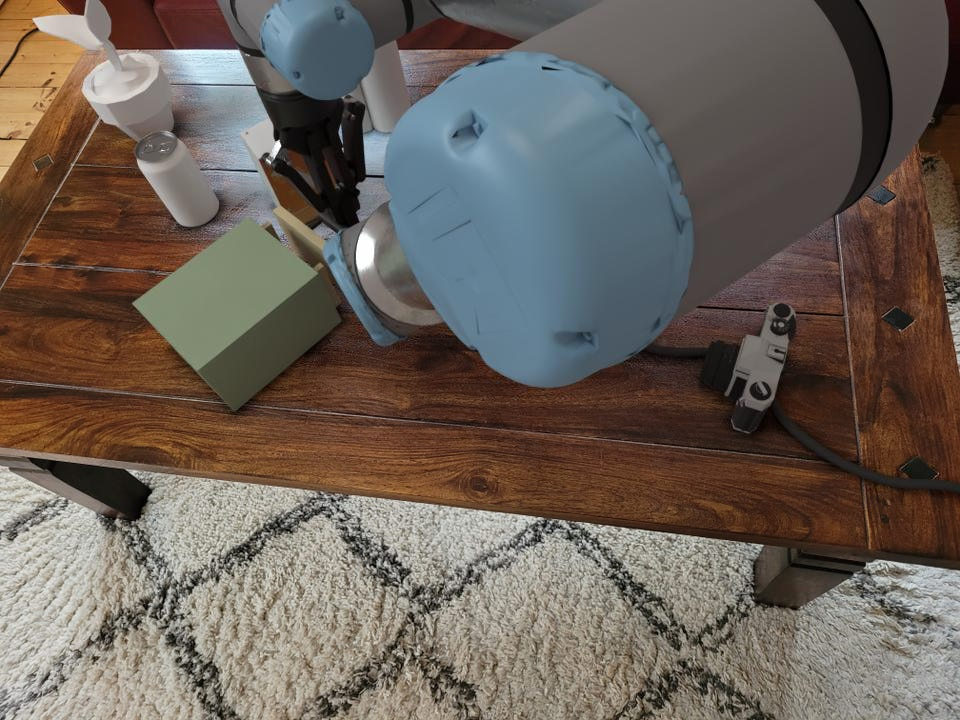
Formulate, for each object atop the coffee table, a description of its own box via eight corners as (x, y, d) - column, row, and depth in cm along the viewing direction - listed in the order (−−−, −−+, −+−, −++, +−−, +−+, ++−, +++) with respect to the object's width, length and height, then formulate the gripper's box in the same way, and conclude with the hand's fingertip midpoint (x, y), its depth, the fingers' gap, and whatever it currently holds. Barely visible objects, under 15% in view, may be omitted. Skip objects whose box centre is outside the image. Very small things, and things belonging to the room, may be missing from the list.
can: (216, 227, 95) (174, 161, 85) (171, 230, 96) (124, 166, 86) (224, 193, 99) (185, 126, 88) (181, 196, 99) (137, 130, 89)
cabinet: (277, 266, 90) (248, 216, 82) (342, 321, 85) (318, 273, 76) (173, 348, 85) (131, 303, 77) (234, 412, 80) (197, 371, 71)
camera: (713, 321, 79) (726, 278, 71) (784, 338, 77) (806, 295, 69) (686, 421, 74) (697, 386, 66) (761, 442, 72) (782, 409, 64)
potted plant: (200, 105, 110) (113, -56, 88) (176, 157, 104) (76, -2, 82) (128, 106, 111) (25, -51, 90) (101, 157, 106) (-16, 2, 84)
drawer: (325, 226, 92) (306, 184, 85) (386, 273, 87) (371, 232, 80) (205, 320, 86) (175, 283, 79) (263, 376, 81) (236, 341, 74)
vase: (418, 103, 104) (389, -27, 87) (405, 136, 101) (373, 7, 84) (348, 99, 107) (307, -29, 89) (334, 131, 103) (288, 4, 86)
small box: (293, 232, 93) (256, 159, 82) (274, 205, 96) (236, 132, 85) (345, 204, 95) (316, 129, 84) (325, 179, 98) (294, 103, 87)
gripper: (318, 25, 71) (372, 189, 91) (216, 91, 67) (296, 248, 87) (364, 52, 68) (410, 216, 88) (259, 124, 64) (332, 278, 84)
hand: (353, 232), depth 87 cm, fingers closed
